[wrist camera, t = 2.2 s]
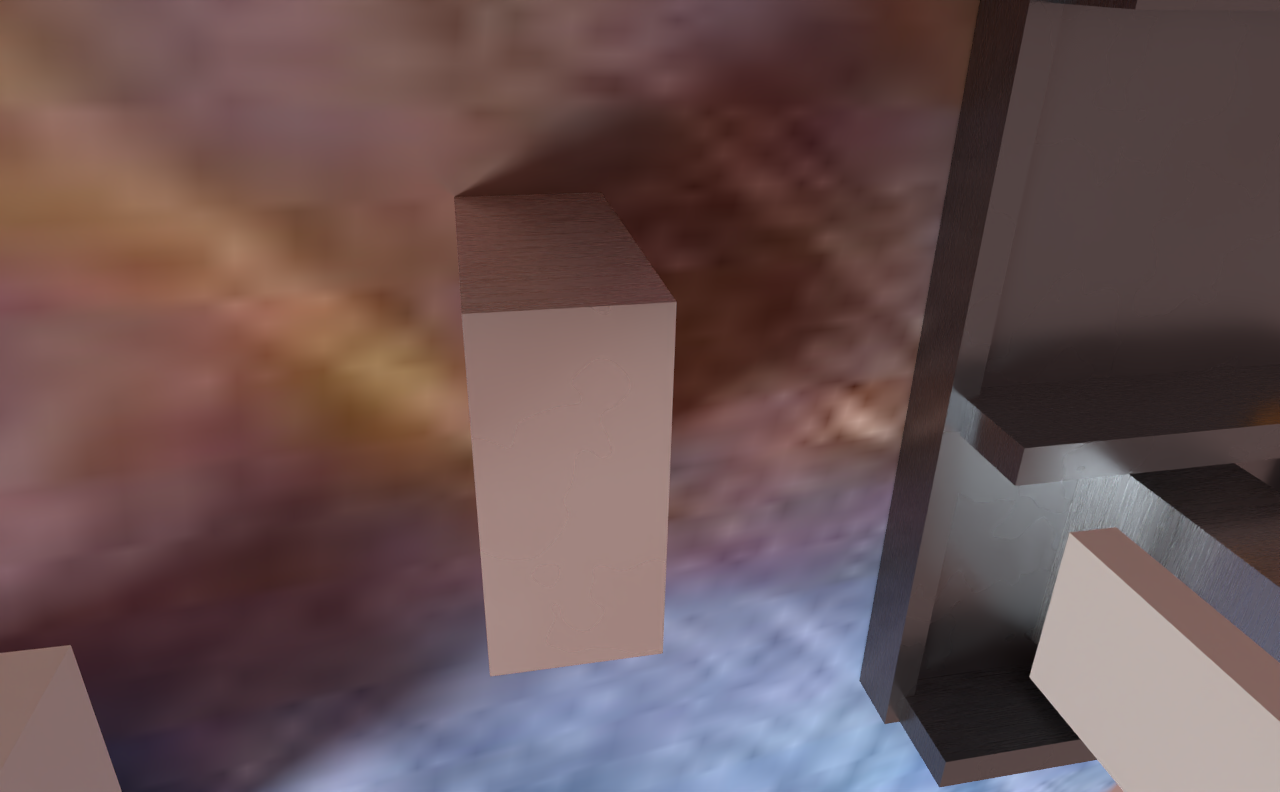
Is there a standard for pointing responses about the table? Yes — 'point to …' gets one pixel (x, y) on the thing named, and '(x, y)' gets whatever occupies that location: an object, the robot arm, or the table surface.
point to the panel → (566, 427)
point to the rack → (1086, 357)
